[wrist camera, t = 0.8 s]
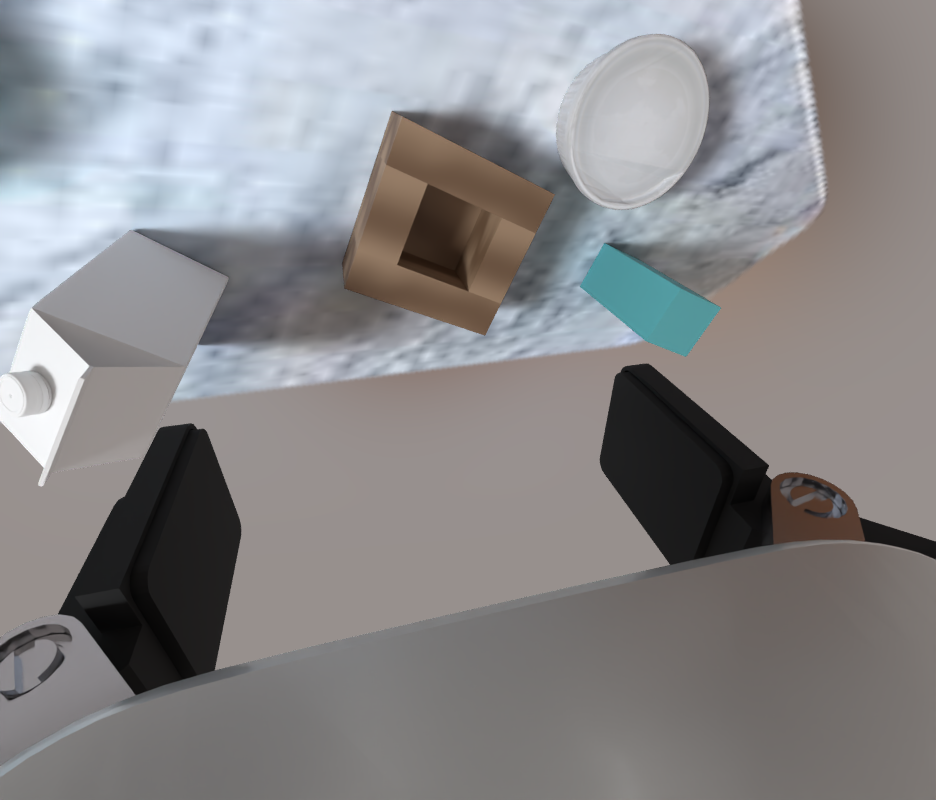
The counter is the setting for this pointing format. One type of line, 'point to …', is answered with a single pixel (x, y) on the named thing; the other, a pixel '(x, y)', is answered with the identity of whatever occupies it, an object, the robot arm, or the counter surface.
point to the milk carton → (107, 355)
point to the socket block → (440, 228)
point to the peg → (648, 300)
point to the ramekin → (633, 121)
